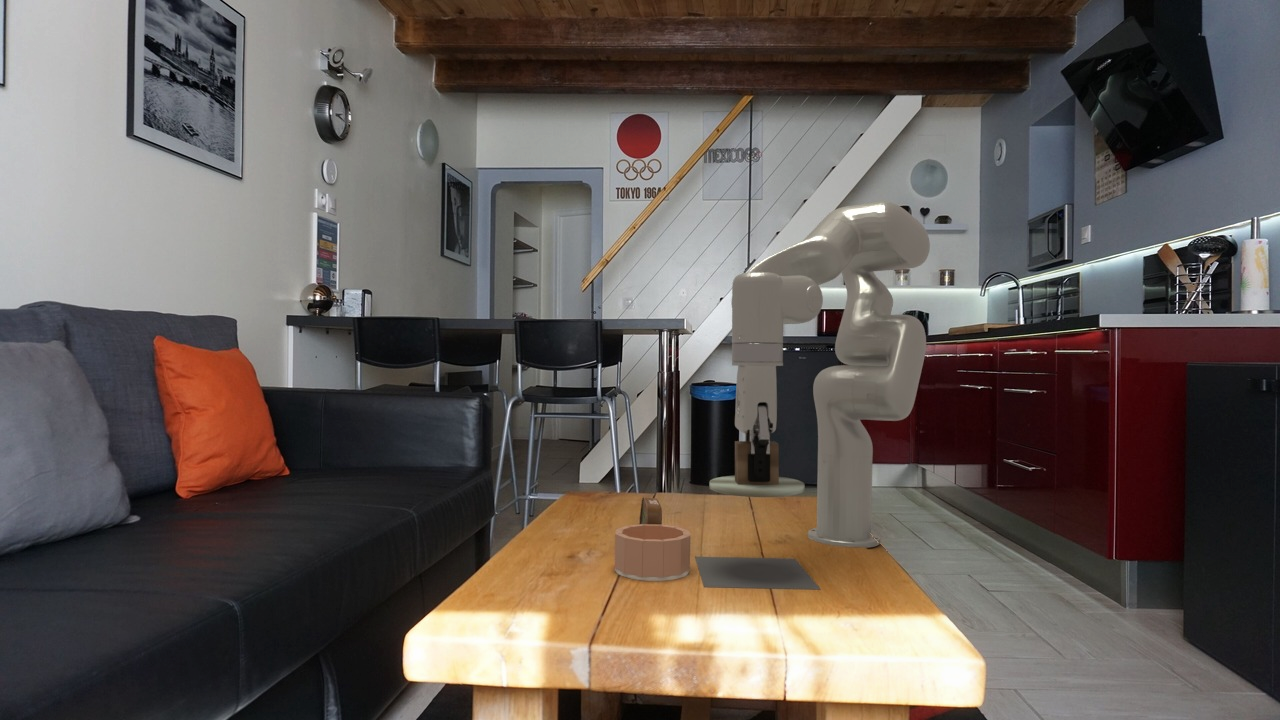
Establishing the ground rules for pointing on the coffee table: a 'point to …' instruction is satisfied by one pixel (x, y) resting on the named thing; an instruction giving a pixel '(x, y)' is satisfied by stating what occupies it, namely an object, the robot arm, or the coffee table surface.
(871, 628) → the coffee table surface
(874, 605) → the coffee table surface
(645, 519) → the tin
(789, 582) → the mat
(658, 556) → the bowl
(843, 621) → the coffee table surface
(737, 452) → the lid
